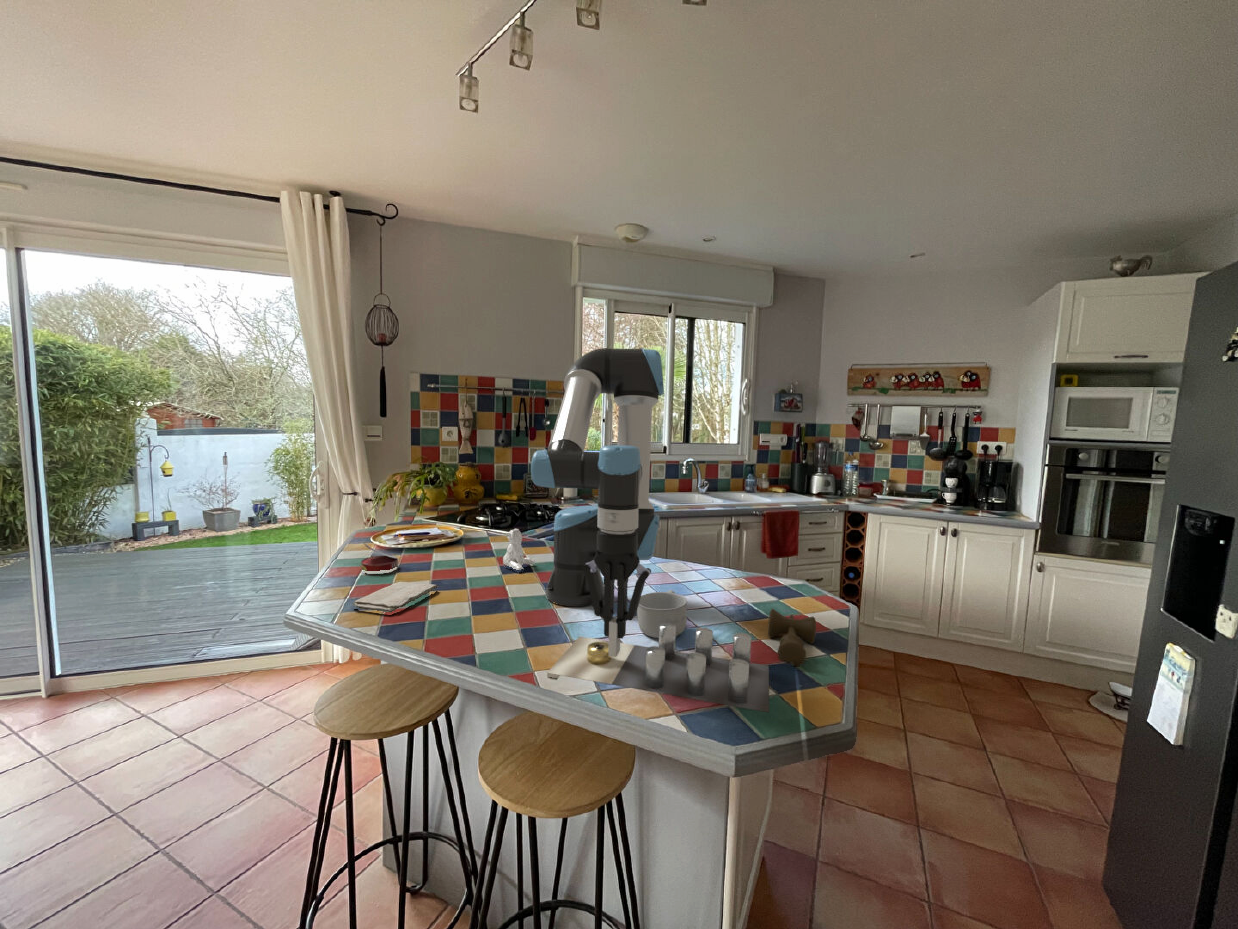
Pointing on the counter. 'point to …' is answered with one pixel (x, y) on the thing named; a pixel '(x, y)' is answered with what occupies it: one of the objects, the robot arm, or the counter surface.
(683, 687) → the board
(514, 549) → the sitting furry creature
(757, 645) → the counter surface
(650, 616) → the teacup
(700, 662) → the steel spacers
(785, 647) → the kendama
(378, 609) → the washcloth
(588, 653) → the brass knob
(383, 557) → the red and clear bowl
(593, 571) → the robot arm
